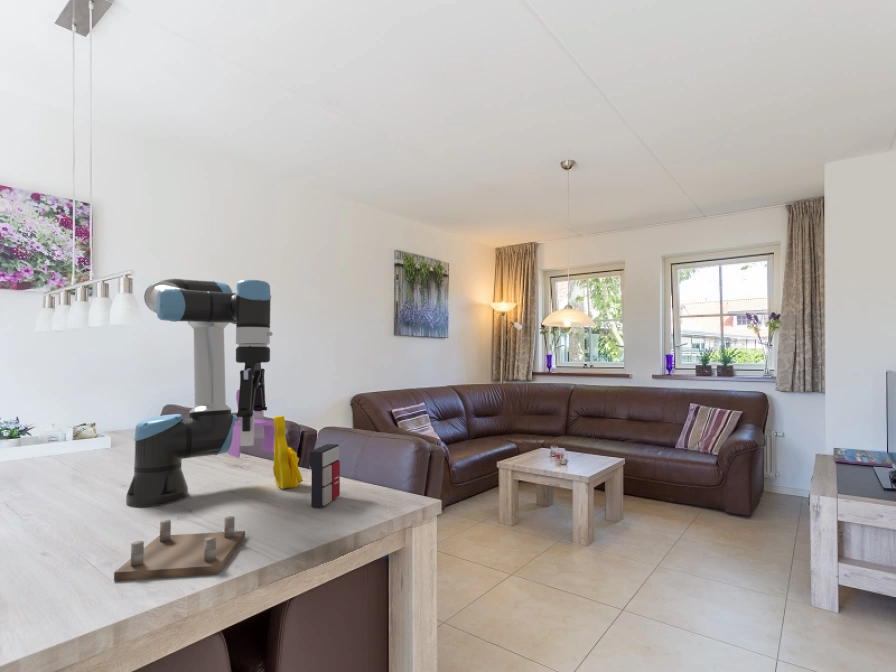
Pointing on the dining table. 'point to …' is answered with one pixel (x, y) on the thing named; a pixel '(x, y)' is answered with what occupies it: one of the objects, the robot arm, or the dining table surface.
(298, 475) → the figure statuette
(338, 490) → the grey and red block
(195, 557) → the peg stand
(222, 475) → the dining table surface
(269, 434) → the toy chair
